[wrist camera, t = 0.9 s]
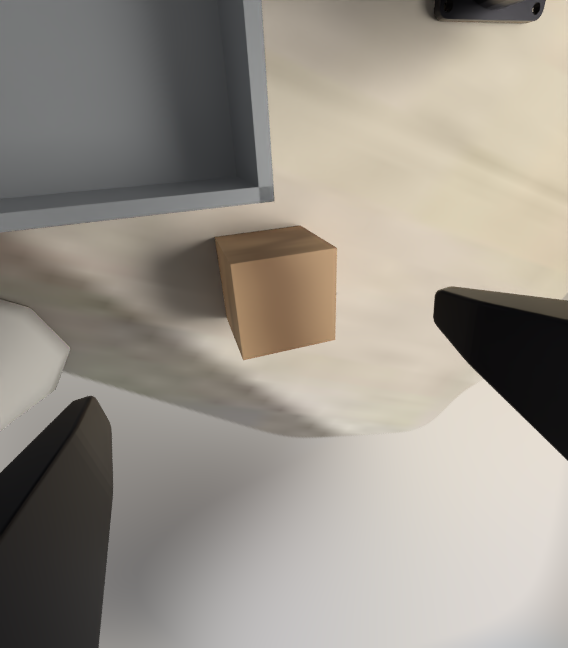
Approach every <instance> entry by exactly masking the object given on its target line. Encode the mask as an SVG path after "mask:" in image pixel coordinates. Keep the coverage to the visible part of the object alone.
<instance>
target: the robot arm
mask: <svg viewBox="0 0 568 648" xmlns="http://www.w3.org/2000/svg"><path fill="white" fill-rule="evenodd" d="M545 1H546V0H435V6H434V14H435V17H436V18H437V20H439V21H449V22H502V23H528V22H532V21H535V20H537V19H538V18H539V17H540V16H541V14H542V12H543V9H544V5H545ZM445 2H446V4H447V11H446V12H445V10H444V4H445ZM532 8H533V12H532ZM433 318H434V322H435V324H436V326H437V327H438V328H439V329H440V330H441V332H442V333H443V334H444V335H445V336H446V338H447V339H448V340H449V341H450V342H451V344H452V345H453V346H454V347H455V348H456V349H457V351H458V352H459V353H460V354H461V355H462V357H463V358H464V359H465V360H466V361H467V362H468V364H469V365H470V366H471V367H472V368H473V369H474V370H475V371H476V372H477V373H478V374H479V375H480V376H481V377H482V378H483V379H485V380H486V381H487V382H488V383H489V384H490V385H491V386H492V387H493V388H494V389H495V390H496V391H497V392H498V393H499V394H500V395H501V396H502V397H503V398H504V399H505V400H506V401H507V402H508V403H509V404H510V405H511V406H512V407H513V408H514V409H515V410H516V411H517V412H518V413H520V414H521V416H522V417H523V418H525V419H526V420H527V421H528V422H529V423H530V424H531V425H532V426H533V427H534V428H535V429H536V430H537V431H538V432H539V433H540V434H541V435H542V436H543V437H544V438H545V439H546V440H547V441H548V442H549V443H550V444H551V445H552V446H553V447H554V448H555V449H556V450H557V451H558V452H559V453H560V454H562V456H564V457H565V458H566V459H567V460H568V301H567V300H559V299H551V298H542V297H534V296H526V295H518V294H510V293H502V292H494V291H485V290H477V289H469V288H461V287H452V286H451V287H447V288H444V289H440V290H438V291H437V292H436V294H435V301H434V314H433ZM112 499H113V464H112V433H111V425H110V422H109V420H108V418H107V416H106V415H105V413H104V411H103V410H102V408H101V406H100V405H99V403H98V401H97V399H96V398H95V397H93V396H88V397H84V398H81V399H78V400H75V401H73V402H72V403H71V404H70V405H69V406H67V408H65V409H64V410H63V411H62V412H61V413H60V415H58V417H56V418H55V419H54V421H52V423H50V424H49V425H48V426H47V427H46V428H45V429H44V430H43V431H42V432H41V433H40V434H39V435H38V436H37V437H36V438H35V439H34V440H33V441H32V442H31V443H30V444H29V445H28V446H27V447H26V448H25V449H24V450H23V451H22V452H21V453H20V454H19V455H18V456H17V457H16V458H15V459H14V460H13V461H12V462H11V463H10V464H9V465H8V466H7V467H6V468H5V469H4V470H3V471H2V472H1V473H0V648H98V647H99V635H100V625H101V614H102V604H103V594H104V584H105V573H106V563H107V551H108V542H109V530H110V520H111V510H112Z"/></svg>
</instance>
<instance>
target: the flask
mask: <svg viewBox="0 0 568 648" xmlns="http://www.w3.org/2000/svg"><path fill="white" fill-rule="evenodd" d="M70 349H71V348H70V347H69V346H68V345H67V344H66V343H65V342H64V341H63V340H62V339H61V338H60V337H59V336H58V335H57V334H56V333H55V332H54V331H53V330H52V329H51V328H50V327H49V326H48V325H47V324H46V323H45V322H44V321H43V320H42V319H41V318H40V317H39V316H38V315H37V314H36V313H35V312H34V311H33V310H32V309H31V308H30V307H26V306H22V305H19V304H15V303H12V302H8V301H5V300H1V299H0V432H1V431H2V430H3V429H4V428H5V427H7V426H8V425H9V424H10V423H12V422H13V421H14V420H15V419H17V418H18V417H20V416H21V415H22V414H24V413H25V412H26V411H28V410H29V409H30V408H32V407H33V406H34V405H36V404H37V403H38V402H40V401H41V400H43V399H44V398H45V397H47V396H48V395H49V394H50V393H52V392H53V391H54V390H55V389H56V387H57V384H58V381H59V379H60V376H61V373H62V371H63V368H64V365H65V363H66V360H67V357H68V354H69V352H70Z"/></svg>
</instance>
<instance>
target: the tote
mask: <svg viewBox="0 0 568 648" xmlns="http://www.w3.org/2000/svg"><path fill="white" fill-rule="evenodd" d="M272 201H274V188H273V173H272V157H271V142H270V126H269V111H268V95H267V80H266V65H265V49H264V34H263V18H262V3H261V0H0V232H8V231H17V230H26V229H35V228H43V227H52V226H61V225H70V224H79V223H88V222H96V221H105V220H114V219H123V218H132V217H140V216H149V215H158V214H167V213H176V212H184V211H193V210H202V209H211V208H220V207H228V206H237V205H246V204H255V203H264V202H272Z"/></svg>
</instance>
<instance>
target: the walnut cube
mask: <svg viewBox="0 0 568 648" xmlns="http://www.w3.org/2000/svg"><path fill="white" fill-rule="evenodd" d="M215 243H216V250H217V256H218V263H219V270H220V276H221V283H222V290H223V296H224V303H225V309H226V316H227V320H228V322H229V325H230V327H231V330H232V332H233V335H234V338H235V340H236V343H237V345H238V348H239V350H240V353H241V356H242V358H243V360H246V359H251V358H255V357H260V356H264V355H269V354H273V353H278V352H282V351H287V350H291V349H296V348H300V347H305V346H309V345H314V344H318V343H323V342H327V341H332V340H335V319H336V266H337V248H336V247H334V246H333V245H331V244H330V243H328V242H326V241H325V240H323V239H321V238H320V237H318V236H317V235H315V234H313V233H312V232H310V231H308V230H307V229H305V228H303V227H302V226H294V227H286V228H279V229H271V230H264V231H256V232H249V233H241V234H234V235H226V236H219V237H215Z"/></svg>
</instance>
